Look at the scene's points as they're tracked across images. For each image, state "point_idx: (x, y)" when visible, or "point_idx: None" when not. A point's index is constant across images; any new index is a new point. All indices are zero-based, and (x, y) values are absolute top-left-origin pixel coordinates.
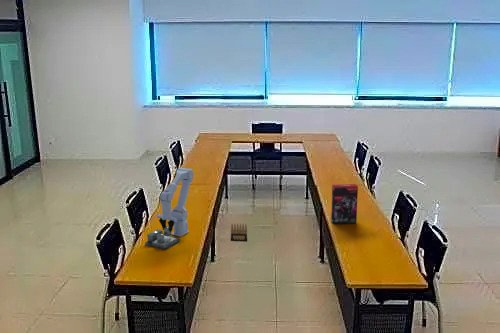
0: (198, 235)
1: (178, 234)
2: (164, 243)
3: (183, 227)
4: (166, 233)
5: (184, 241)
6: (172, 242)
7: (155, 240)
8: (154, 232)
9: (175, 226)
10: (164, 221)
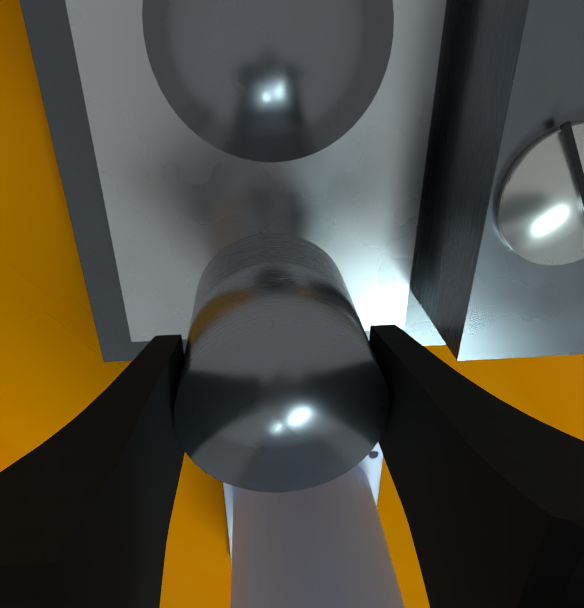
0: None
1: None
2: (128, 6)
3: (231, 594)
4: (241, 264)
5: (63, 372)
6: (101, 203)
7: (418, 38)
8: (570, 170)
9: (326, 562)
10: (458, 579)
